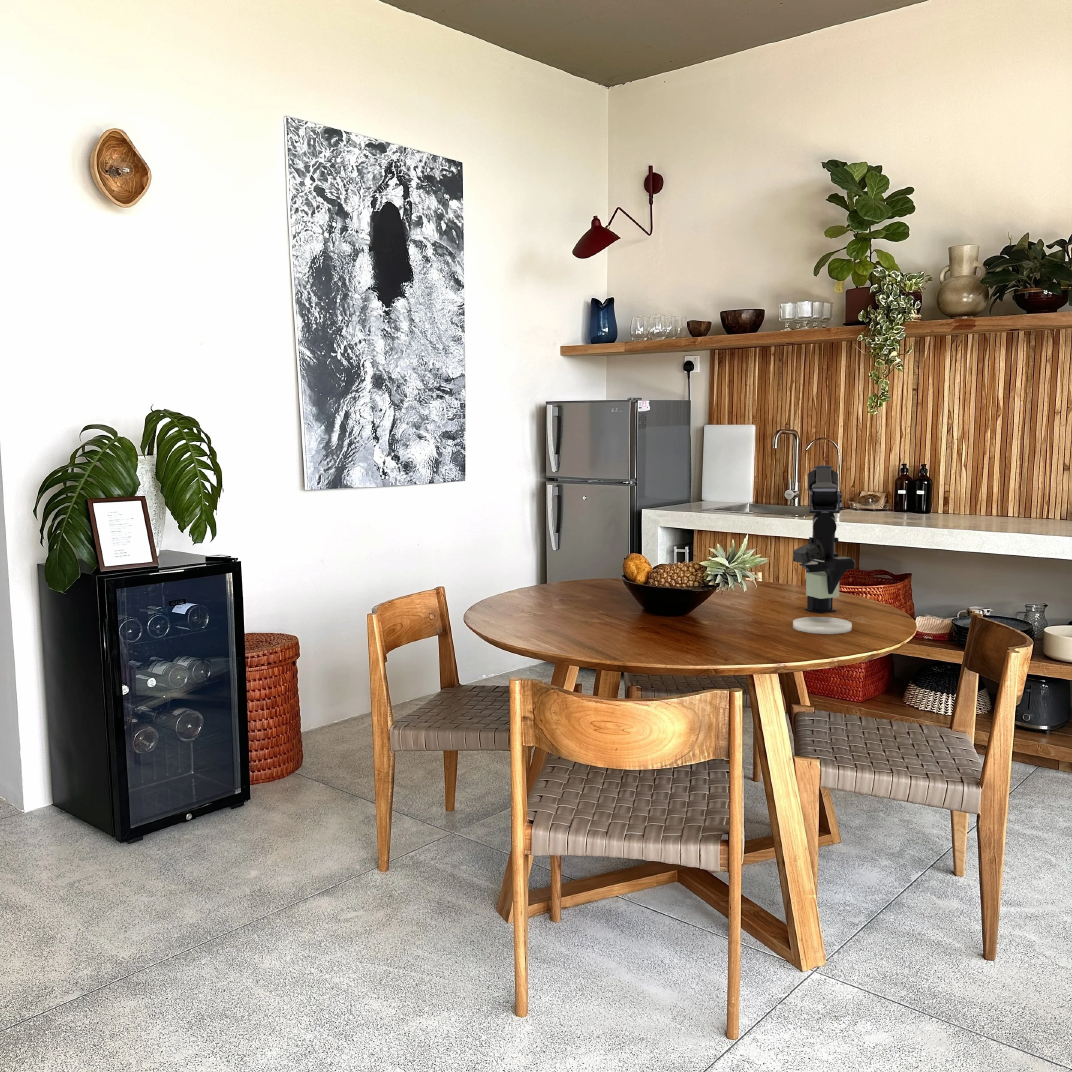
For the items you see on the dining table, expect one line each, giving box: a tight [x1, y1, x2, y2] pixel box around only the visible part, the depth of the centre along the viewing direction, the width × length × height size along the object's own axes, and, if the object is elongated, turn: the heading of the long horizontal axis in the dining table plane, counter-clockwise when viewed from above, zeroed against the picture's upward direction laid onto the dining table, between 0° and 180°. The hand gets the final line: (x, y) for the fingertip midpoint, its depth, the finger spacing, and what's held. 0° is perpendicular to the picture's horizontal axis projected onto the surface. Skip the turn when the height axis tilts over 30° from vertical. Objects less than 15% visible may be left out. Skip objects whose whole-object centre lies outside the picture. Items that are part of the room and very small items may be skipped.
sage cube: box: [805, 571, 840, 599], centre depth 258 cm, size 6×6×6 cm
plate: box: [792, 616, 853, 635], centre depth 259 cm, size 15×15×2 cm
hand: (822, 592), depth 258 cm, fingers closed on sage cube, 6 cm apart
